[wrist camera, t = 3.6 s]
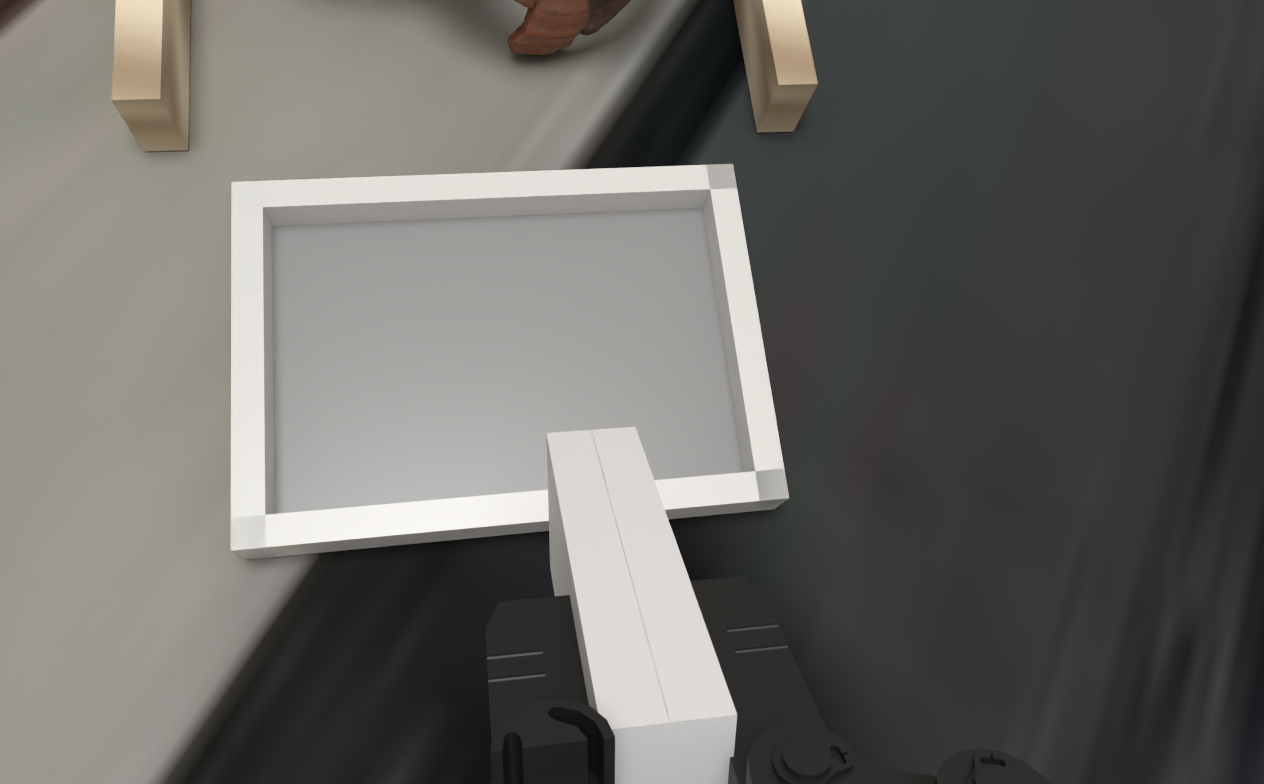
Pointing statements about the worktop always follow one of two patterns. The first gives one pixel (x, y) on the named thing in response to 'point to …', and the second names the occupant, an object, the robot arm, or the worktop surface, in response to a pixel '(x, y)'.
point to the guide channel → (160, 67)
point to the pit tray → (486, 350)
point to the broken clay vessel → (560, 23)
